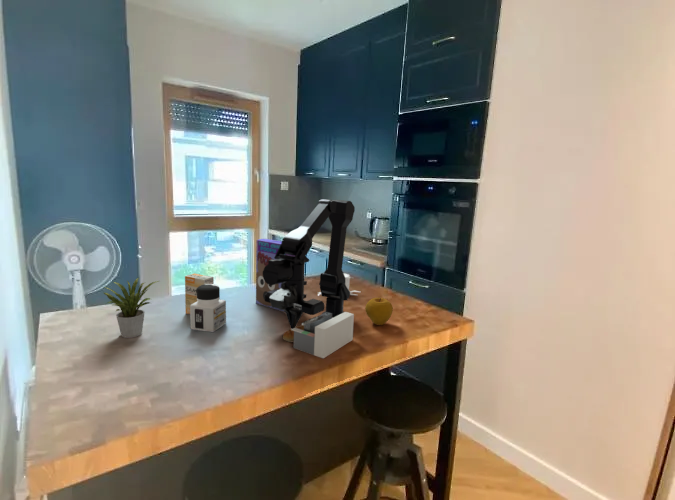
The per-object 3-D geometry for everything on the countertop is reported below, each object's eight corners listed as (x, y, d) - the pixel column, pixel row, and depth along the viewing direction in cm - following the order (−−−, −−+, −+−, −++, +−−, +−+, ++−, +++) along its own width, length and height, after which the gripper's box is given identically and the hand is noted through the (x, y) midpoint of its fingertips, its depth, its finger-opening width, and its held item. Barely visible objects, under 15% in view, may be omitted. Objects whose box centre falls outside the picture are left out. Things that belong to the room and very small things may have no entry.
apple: (358, 323, 123) (360, 297, 122) (375, 316, 130) (377, 292, 128) (381, 331, 117) (382, 304, 116) (397, 324, 124) (399, 298, 122)
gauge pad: (325, 334, 113) (326, 310, 111) (331, 335, 112) (332, 311, 110) (298, 348, 102) (299, 322, 101) (304, 350, 101) (305, 324, 100)
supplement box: (184, 313, 124) (183, 275, 122) (195, 309, 129) (194, 272, 126) (204, 318, 121) (203, 279, 119) (214, 313, 126) (214, 276, 123)
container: (213, 332, 111) (213, 290, 108) (190, 329, 112) (189, 287, 110) (226, 323, 118) (226, 283, 116) (204, 320, 120) (203, 281, 117)
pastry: (286, 346, 105) (287, 333, 104) (279, 336, 111) (279, 324, 110) (317, 341, 109) (318, 328, 108) (309, 332, 115) (309, 320, 114)
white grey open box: (322, 330, 116) (323, 305, 114) (352, 339, 110) (354, 314, 109) (290, 347, 103) (291, 319, 102) (323, 358, 98) (324, 329, 96)
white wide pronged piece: (371, 295, 157) (372, 276, 155) (340, 304, 143) (341, 284, 141) (337, 284, 170) (338, 267, 169) (305, 292, 156) (305, 273, 155)
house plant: (153, 319, 118) (151, 269, 115) (170, 333, 108) (168, 279, 105) (101, 330, 108) (97, 276, 105) (114, 347, 98) (111, 287, 96)
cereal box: (255, 303, 138) (256, 239, 134) (265, 300, 142) (265, 238, 138) (292, 314, 129) (293, 245, 124) (300, 310, 133) (302, 244, 128)
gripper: (251, 277, 108) (251, 328, 111) (302, 290, 98) (300, 346, 101) (277, 271, 117) (276, 318, 120) (326, 282, 107) (324, 333, 110)
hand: (292, 328), depth 112 cm, fingers closed
